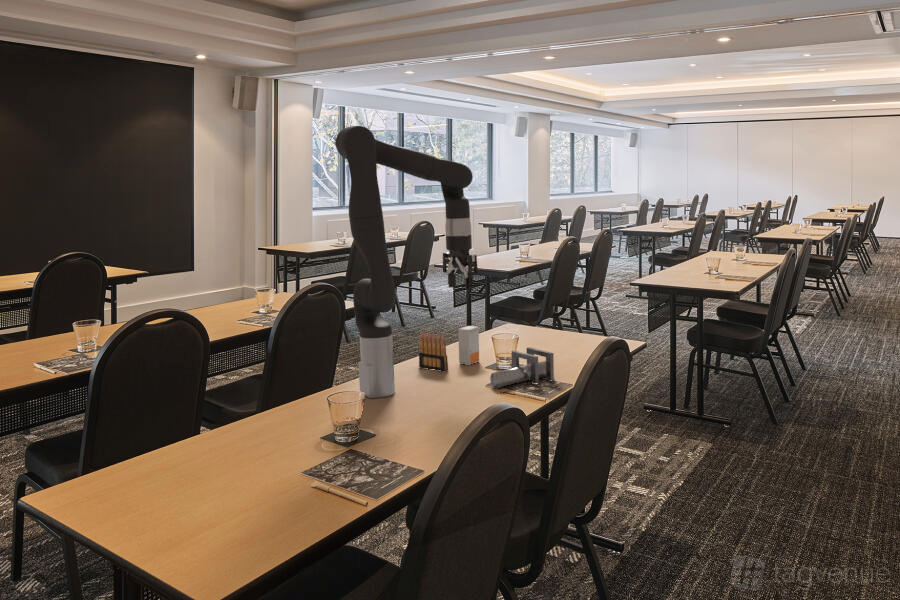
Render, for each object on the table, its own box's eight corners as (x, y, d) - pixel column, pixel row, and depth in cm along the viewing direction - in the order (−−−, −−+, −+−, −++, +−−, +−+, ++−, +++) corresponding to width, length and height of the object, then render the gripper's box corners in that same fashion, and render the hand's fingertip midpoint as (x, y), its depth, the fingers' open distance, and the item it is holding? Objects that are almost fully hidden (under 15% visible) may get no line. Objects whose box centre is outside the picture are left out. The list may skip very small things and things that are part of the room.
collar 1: (535, 385, 214) (535, 357, 213) (512, 378, 223) (511, 351, 222) (538, 384, 215) (538, 356, 214) (515, 377, 224) (514, 350, 222)
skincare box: (469, 366, 239) (468, 330, 237) (458, 364, 242) (457, 328, 240) (480, 362, 244) (478, 326, 242) (469, 360, 247) (468, 325, 245)
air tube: (501, 389, 211) (499, 373, 210) (491, 387, 215) (489, 371, 214) (552, 376, 222) (551, 361, 222) (542, 374, 226) (540, 359, 225)
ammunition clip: (419, 367, 240) (417, 331, 238) (422, 366, 241) (420, 330, 239) (444, 372, 233) (443, 335, 231) (448, 370, 235) (446, 333, 233)
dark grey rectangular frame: (550, 381, 218) (550, 353, 216) (527, 374, 226) (526, 347, 225) (553, 380, 218) (553, 353, 217) (530, 373, 227) (529, 347, 226)
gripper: (434, 233, 219) (436, 287, 221) (462, 235, 207) (464, 292, 210) (454, 232, 223) (456, 285, 225) (483, 233, 211) (485, 289, 214)
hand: (460, 288), depth 218 cm, fingers open, 8 cm apart
